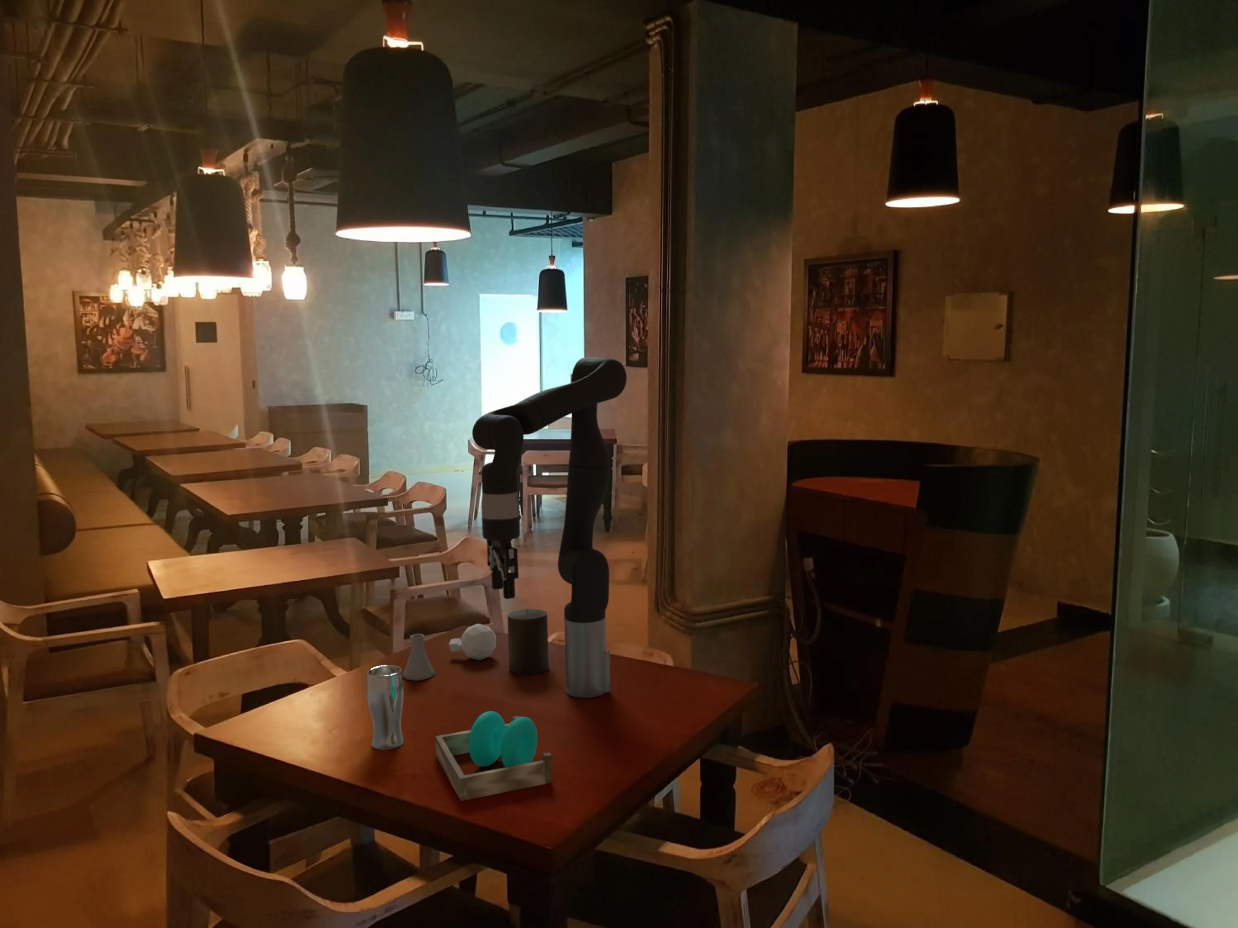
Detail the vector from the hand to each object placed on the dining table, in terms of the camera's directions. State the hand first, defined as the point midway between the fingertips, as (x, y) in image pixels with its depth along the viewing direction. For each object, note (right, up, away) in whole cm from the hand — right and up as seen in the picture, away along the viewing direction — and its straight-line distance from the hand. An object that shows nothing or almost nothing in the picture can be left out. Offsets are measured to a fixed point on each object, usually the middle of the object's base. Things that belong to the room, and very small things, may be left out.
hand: (503, 593), depth 191 cm
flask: (-25, -25, +35) cm, 50 cm away
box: (-1, -30, -17) cm, 35 cm away
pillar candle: (+1, -24, +39) cm, 46 cm away
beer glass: (-22, -29, -4) cm, 37 cm away
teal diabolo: (+2, -30, -16) cm, 34 cm away
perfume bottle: (-13, -23, +48) cm, 55 cm away
